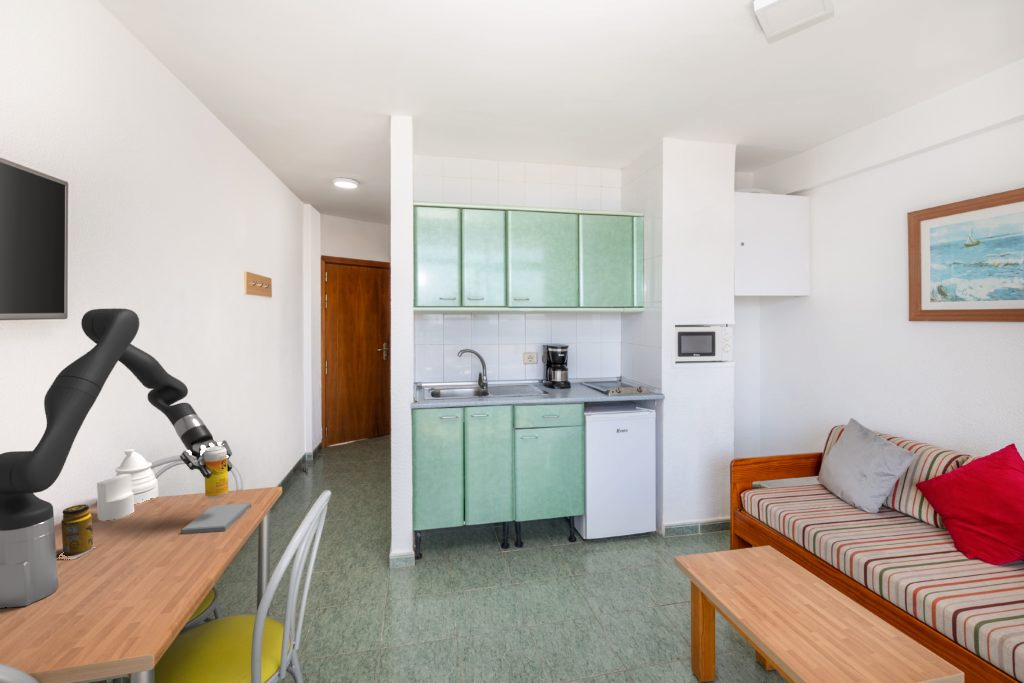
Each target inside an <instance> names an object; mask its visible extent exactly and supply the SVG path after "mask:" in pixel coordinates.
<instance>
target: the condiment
mask: <svg viewBox="0 0 1024 683" xmlns="http://www.w3.org/2000/svg"><path fill="white" fill-rule="evenodd" d="M90 512H91V511H90V506H89V504H76V505H72V506H68V507H67V508H64V509H63V510H62V520H61V521H60V522H61V540H62V544H61V545H62V551H60V552H58V553H56V559H57V558H58V557H59V555H60V554H61V553H63V552H64V553H63V555H65V556H67V559H68V560H69V559H70V560H76V559H77V558H80V557H81V556H83V555H85V554H87V553H88V552H90V551H92V550H94V549H96V548H97V547H93V544H94V541H93V540H94V538H93V535H94V534H93V524H92V521H93V520H92V519H93V518H92V514H91V513H90ZM93 548H94V549H93ZM90 549H91V550H90ZM68 556H73V557H69V558H68ZM60 557H62V556H60ZM58 559H59V558H58ZM60 559H61V558H60ZM67 559H66V561H68V560H67ZM70 560H69V561H70ZM63 561H65V559H64V560H63Z"/></svg>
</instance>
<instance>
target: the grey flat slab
mask: <svg viewBox="0 0 1024 683" xmlns="http://www.w3.org/2000/svg"><path fill="white" fill-rule="evenodd" d="M251 507H252V502H248V503H247V502H244V503H232V504H230V503H228V504H217V505H216V504H214V505H211V506H210V507H209V508H207V509H206V510H204V512H202V513H201V514H200V515H199V516H197V517H196V518H195V519H193V520H192V521H191V522H189V523H188V524H187V525H186V526H184V527H183V528H182V529H181V530H180V531H181V533H180V534H181V535H183V534H185V533H187V534H199V533H201V534H202V533H212V532H213V533H215V532H214V531H216V532H225V531H226V532H227V530H229V528H230V527H231V526H232V525H234V524H235V523H236V522H237V520H238V518H239V517H240V516H241V515H242V514H243V513H244V512H245V511H246V510H247V509H248V510H249V509H251ZM248 510H247V511H248ZM247 511H246V512H247ZM246 512H245V513H246ZM245 513H244V514H245ZM244 514H243V515H244ZM243 515H242V516H243ZM242 516H241V517H242ZM241 517H240V518H241ZM240 518H239V519H240ZM185 535H186V534H185Z"/></svg>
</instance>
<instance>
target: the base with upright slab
mask: <svg viewBox="0 0 1024 683" xmlns="http://www.w3.org/2000/svg"><path fill="white" fill-rule="evenodd" d="M96 488H97V490H96V491H97V500H96V506H97V508H96V509H97V520H98V519H99V520H102V521H101V522H107V521H106V520H111V521H114V520H113V519H116V518H120V517H123V516H126V515H129V514H131V513H133V512H134V513H135V505H134V495H133V492H132V485H131V474H122V475H119V476H116V475H115V476H112V477H111V478H108V479H105V480H102V481H99V482H97V483H96ZM134 513H133V514H134ZM131 515H132V514H131ZM129 516H130V515H129ZM99 520H98V521H99Z"/></svg>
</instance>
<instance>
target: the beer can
mask: <svg viewBox="0 0 1024 683" xmlns="http://www.w3.org/2000/svg"><path fill="white" fill-rule="evenodd" d="M203 454H204V462H205V464H204V465H206V466H207V467H208V468H209V470H210V472H211V473H212V475H211V476H210V478H206V477H204V493H205V494H204V495H205V496H206V498H208V499H218V498H223V497H225V496H226V495H227V494H228V492H229V478H228V476H229V475H228V473H229V472H228V471H227V450H226V448H225V446H213V447H209V448H206V449H205V451H204V453H203Z"/></svg>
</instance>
